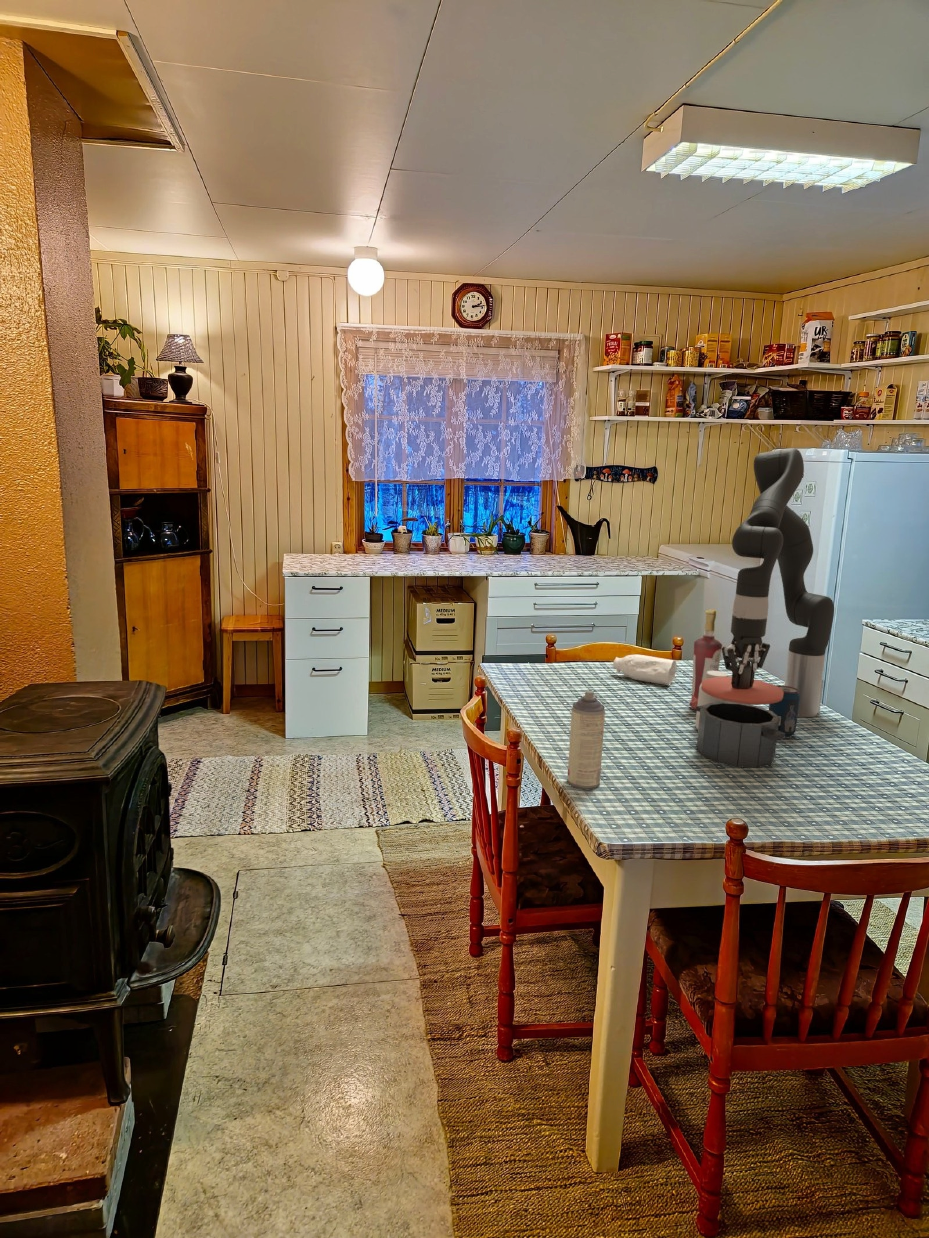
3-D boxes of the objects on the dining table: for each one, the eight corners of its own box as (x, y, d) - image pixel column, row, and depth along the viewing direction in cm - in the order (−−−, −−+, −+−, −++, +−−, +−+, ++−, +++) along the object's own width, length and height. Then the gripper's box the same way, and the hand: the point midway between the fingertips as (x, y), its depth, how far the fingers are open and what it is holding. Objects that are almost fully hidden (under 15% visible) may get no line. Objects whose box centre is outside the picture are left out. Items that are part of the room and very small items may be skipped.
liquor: (705, 715, 218) (715, 614, 212) (682, 709, 223) (691, 609, 217) (720, 711, 222) (730, 611, 217) (697, 704, 228) (706, 606, 222)
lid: (737, 682, 199) (740, 653, 198) (799, 702, 184) (803, 672, 183) (684, 690, 191) (687, 661, 189) (744, 712, 175) (748, 680, 174)
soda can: (773, 727, 210) (778, 683, 208) (799, 734, 205) (805, 689, 203) (761, 733, 205) (766, 687, 203) (787, 740, 200) (793, 694, 198)
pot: (723, 733, 204) (727, 695, 202) (800, 764, 185) (805, 723, 183) (673, 743, 196) (677, 703, 194) (748, 777, 176) (753, 733, 174)
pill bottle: (729, 736, 202) (735, 678, 199) (696, 733, 204) (701, 675, 201) (725, 726, 210) (731, 670, 207) (693, 723, 211) (699, 667, 208)
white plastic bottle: (618, 673, 259) (620, 648, 257) (676, 683, 249) (678, 658, 247) (609, 678, 252) (611, 653, 251) (668, 688, 242) (670, 663, 241)
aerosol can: (595, 776, 174) (601, 687, 170) (603, 789, 167) (610, 696, 163) (563, 776, 173) (569, 686, 169) (571, 789, 166) (577, 696, 162)
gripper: (757, 609, 190) (750, 680, 194) (715, 613, 183) (707, 686, 187) (784, 615, 184) (775, 688, 187) (741, 619, 177) (733, 695, 180)
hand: (741, 687), depth 187 cm, fingers closed on lid, 3 cm apart
